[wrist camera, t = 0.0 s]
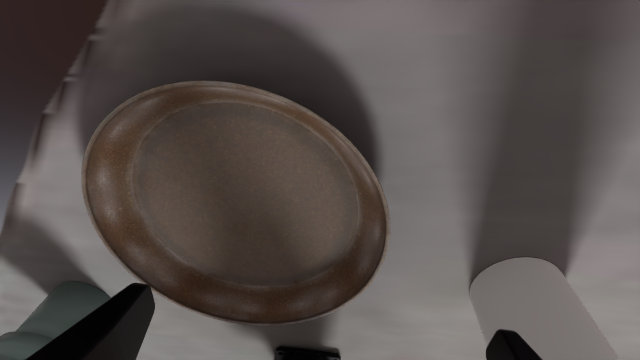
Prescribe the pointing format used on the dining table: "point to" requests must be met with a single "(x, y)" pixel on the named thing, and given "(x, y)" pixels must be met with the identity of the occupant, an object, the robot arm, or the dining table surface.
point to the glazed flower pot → (51, 319)
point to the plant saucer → (235, 203)
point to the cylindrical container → (537, 310)
